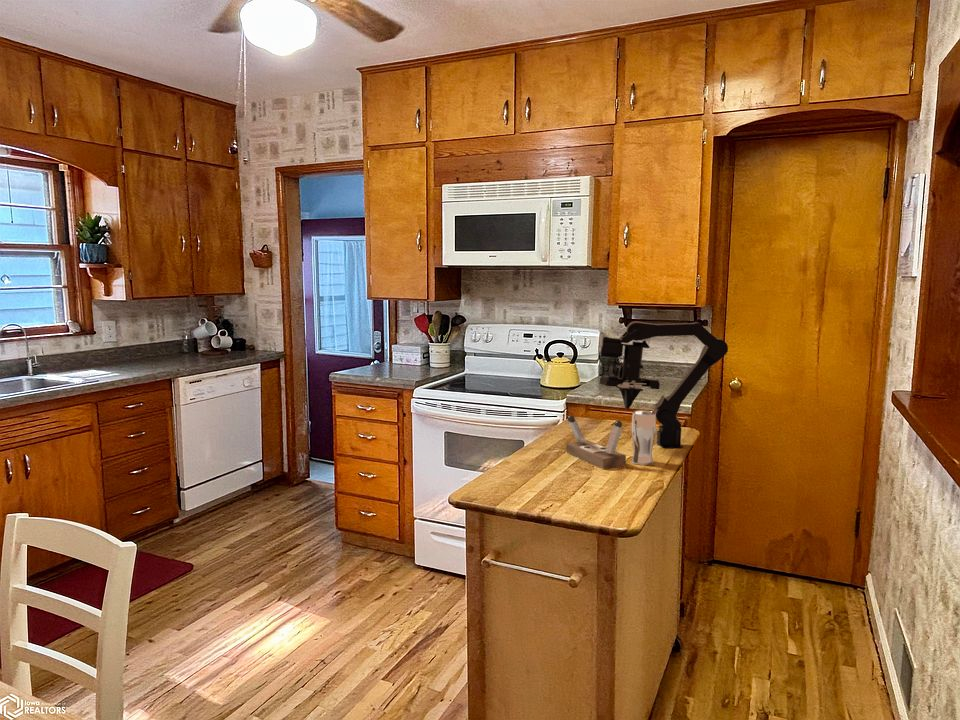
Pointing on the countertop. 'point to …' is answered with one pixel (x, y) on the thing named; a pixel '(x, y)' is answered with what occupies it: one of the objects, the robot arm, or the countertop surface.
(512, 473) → the countertop surface
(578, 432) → the lever
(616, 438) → the lever
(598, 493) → the countertop surface
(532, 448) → the countertop surface
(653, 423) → the beer glass
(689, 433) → the countertop surface
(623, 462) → the switch box
